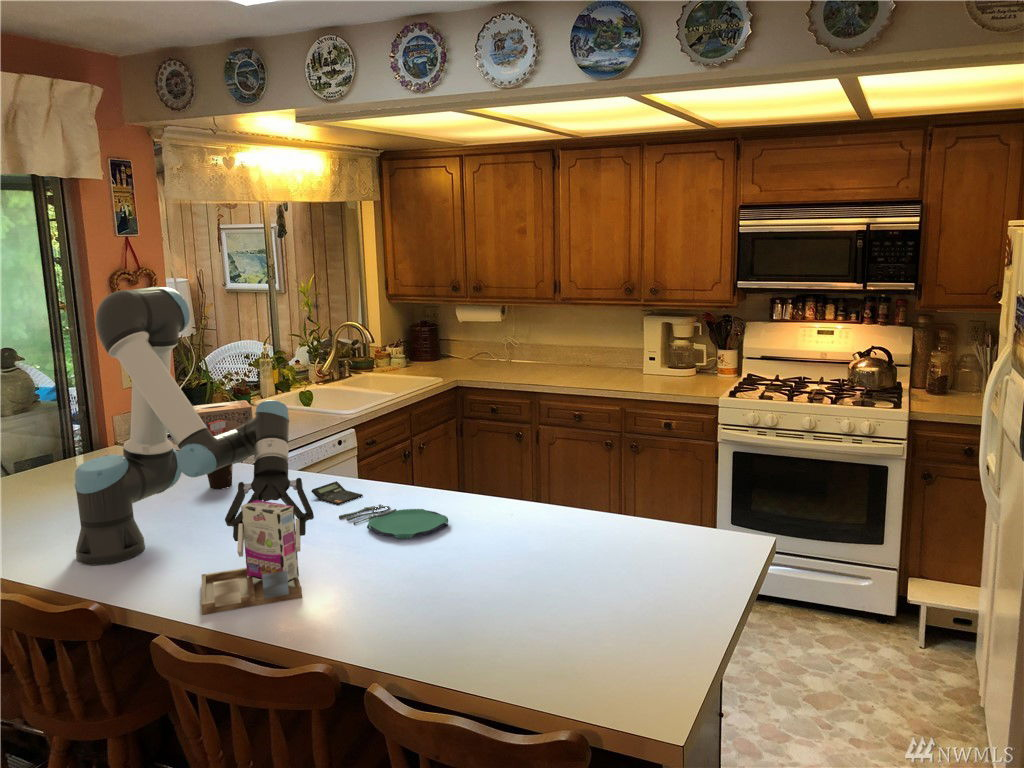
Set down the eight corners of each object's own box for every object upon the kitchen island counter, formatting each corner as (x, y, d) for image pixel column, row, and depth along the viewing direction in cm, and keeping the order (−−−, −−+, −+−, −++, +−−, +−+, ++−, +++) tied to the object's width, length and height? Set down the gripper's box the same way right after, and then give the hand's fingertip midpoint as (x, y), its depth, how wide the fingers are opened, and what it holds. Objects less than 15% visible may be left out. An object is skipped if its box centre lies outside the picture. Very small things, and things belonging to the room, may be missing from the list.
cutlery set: (403, 548, 196) (402, 539, 196) (331, 522, 216) (331, 514, 216) (461, 526, 210) (461, 518, 210) (389, 504, 231) (389, 496, 230)
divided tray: (202, 614, 164) (199, 586, 162) (202, 583, 178) (199, 557, 177) (302, 597, 170) (300, 570, 169) (294, 568, 185) (292, 543, 184)
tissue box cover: (247, 423, 331) (245, 400, 329) (253, 431, 318) (251, 406, 316) (180, 431, 320) (178, 407, 318) (184, 439, 307) (181, 414, 305)
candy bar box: (300, 576, 175) (295, 505, 172) (284, 585, 171) (278, 512, 168) (262, 567, 180) (256, 498, 177) (245, 576, 176) (239, 505, 173)
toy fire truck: (191, 452, 288) (188, 424, 286) (222, 444, 298) (220, 417, 296) (201, 455, 284) (198, 426, 282) (233, 447, 293) (230, 420, 291)
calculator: (338, 506, 228) (337, 496, 228) (311, 498, 235) (311, 489, 234) (362, 497, 235) (362, 487, 235) (336, 490, 242) (335, 480, 242)
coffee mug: (226, 491, 243) (223, 459, 241) (200, 490, 245) (197, 458, 243) (246, 479, 254) (243, 449, 252) (221, 478, 256) (218, 448, 254)
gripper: (214, 457, 178) (208, 549, 166) (322, 450, 183) (324, 539, 171) (220, 473, 185) (214, 563, 173) (325, 466, 189) (327, 553, 177)
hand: (269, 551), depth 172 cm, fingers closed on candy bar box, 11 cm apart
